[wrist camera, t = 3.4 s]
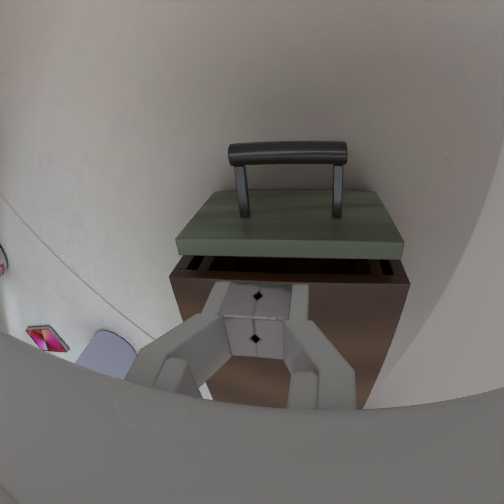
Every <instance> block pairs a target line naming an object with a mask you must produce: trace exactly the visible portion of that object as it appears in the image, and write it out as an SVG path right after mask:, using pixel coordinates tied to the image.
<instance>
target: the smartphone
mask: <svg viewBox="0 0 504 504" xmlns="http://www.w3.org/2000/svg"><path fill="white" fill-rule="evenodd" d="M26 332H27V333H28V334H29V336H30V337H31V338H32V339H33V341H34V342H35V343H36V344H37V345H38V346H39V348H40V349H41V350H43V351H52V352H68V350H69V348H68V347H67V346H66V345H65V343H64V342H63V341H62V340H61V339H60V338H59V336H58V335H57V334H56V333H55V331H54V330H53V329H52V328H51V327H49V326H42V327H29V328H27V329H26Z"/></svg>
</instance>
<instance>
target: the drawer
mask: <svg viewBox="0 0 504 504" xmlns="http://www.w3.org/2000/svg"><path fill="white" fill-rule="evenodd" d="M228 159H229V163H230V165H231V166H235V167H234V169H235V177H236V186H237V191H217V192H214V193H213V194H212V195H211V197H210V198H209V199H208V200H207V201H206V202H205V204H204V205H203V206H202V207H201V208H200V210H199V211H198V212H197V213H196V214H195V215H194V217H193V218H192V219H191V220H190V222H189V223H188V224H187V225H186V226H185V228H184V229H183V230H182V231H181V233H180V234H179V235H178V236H177V238H176V239H175V240H176V244H177V248H178V252H179V255H200V256H205V258H204V259H203V261H202V263H201V265H200V266H199V268H198V270H207V271H233V272H261V273H296V274H343V275H383V273H382V269H381V266H380V263H379V260H378V259H390V260H400V259H401V257H402V252H403V247H404V241H403V239H402V237H401V235H400V233H399V232H398V230H397V228H396V226H395V224H394V222H393V221H392V219H391V217H390V215H389V214H388V212H387V210H386V208H385V207H384V205H383V203H382V202H381V200H380V198H379V197H378V195H377V193H376V192H372V191H344V190H343V165H345V164H346V163H347V144H346V142H343V141H275V142H253V143H237V144H230V145H229V148H228ZM266 164H333V187H332V190H248V185H247V175H246V165H266ZM342 164H343V165H342Z"/></svg>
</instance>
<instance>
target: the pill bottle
mask: <svg viewBox="0 0 504 504" xmlns="http://www.w3.org/2000/svg"><path fill="white" fill-rule="evenodd" d="M6 269H7V261H6V258H5V255H4V253H3V251H2V249H1V248H0V276H1V275H3V274H4V273H5V271H6Z"/></svg>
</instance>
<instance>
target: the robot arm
mask: <svg viewBox="0 0 504 504" xmlns="http://www.w3.org/2000/svg"><path fill="white" fill-rule="evenodd" d="M308 301H309V285H308V284H293V285H288V284H261V283H245V282H228V281H217V282H216V283H215V284H214V286H213V288H212V290H211V293H210V295H209V297H208V299H207V301H206V304H205V306H204V308H203V310H202V313H201V314H199V313H196V314H195V315H193V316H192V317H190V318H189V319H187V320H186V321H184V322H183V323H181V324H180V325H178V326H176V327H175V328H173V329H172V330H170V331H169V332H167V333H166V334H164V335H162V336H161V337H159V338H158V339H156V340H155V341H153V342H151V343H150V344H148V345H147V346H145V347H144V348H142V349H140V351H139V353H138V354H137V356H136V358H135V360H134V362H133V363H132V365H131V367H130V369H129V371H128V373H127V374H126V376H125V378H124V380H122V379H119V378H116V377H112V376H109V375H106V374H103V373H100V372H97V371H94V370H91V369H88V368H85V367H83V366H80V365H77V364H75V363H72V362H69V361H67V360H64V359H62V358H59V357H57V356H55V355H52V354H50V353H47V352H45V351H43V350H41V349H38V348H36V347H34V346H32V345H30V344H28V343H26V342H23V341H21V340H19V339H17V338H15V337H13V336H11V335H10V334H8V333H6V332H4V331H2V330H0V504H504V387H503V388H499V389H496V390H492V391H488V392H484V393H480V394H476V395H472V396H467V397H462V398H457V399H452V400H446V401H440V402H434V403H427V404H420V405H412V406H402V407H392V408H379V409H359V410H357V404H356V382H355V371H354V369H353V368H352V367H351V366H350V365H349V363H348V362H347V361H346V360H345V359H344V357H343V356H342V355H341V354H340V353H339V351H338V350H337V349H336V348H335V347H334V345H333V344H332V343H331V342H330V341H329V340H328V338H327V337H326V336H325V335H324V334H323V332H322V331H321V330H320V329H319V328H318V326H317V325H316V324H315V323H314V322H313V321H312V320H308ZM231 355H235V356H249V357H262V358H272V359H284V362H285V364H286V366H287V368H288V370H289V371H290V373H291V380H290V387H289V394H288V401H287V408H272V407H261V406H251V405H243V404H235V403H228V402H221V401H215V400H209V399H203V397H202V395H201V393H200V391H199V389H198V388H199V387H200V386H201V385H202V384H204V383H205V382H206V381H207V380H208V379H209V378H210V377H211V376H212V375H213V374H214V373H215V372H216V371H217V370H218V369H219V368H220V367H221V366H223V365H224V364H225V363H226V362H227V361H228V360H229V359H230V358H231V357H232V356H231Z"/></svg>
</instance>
